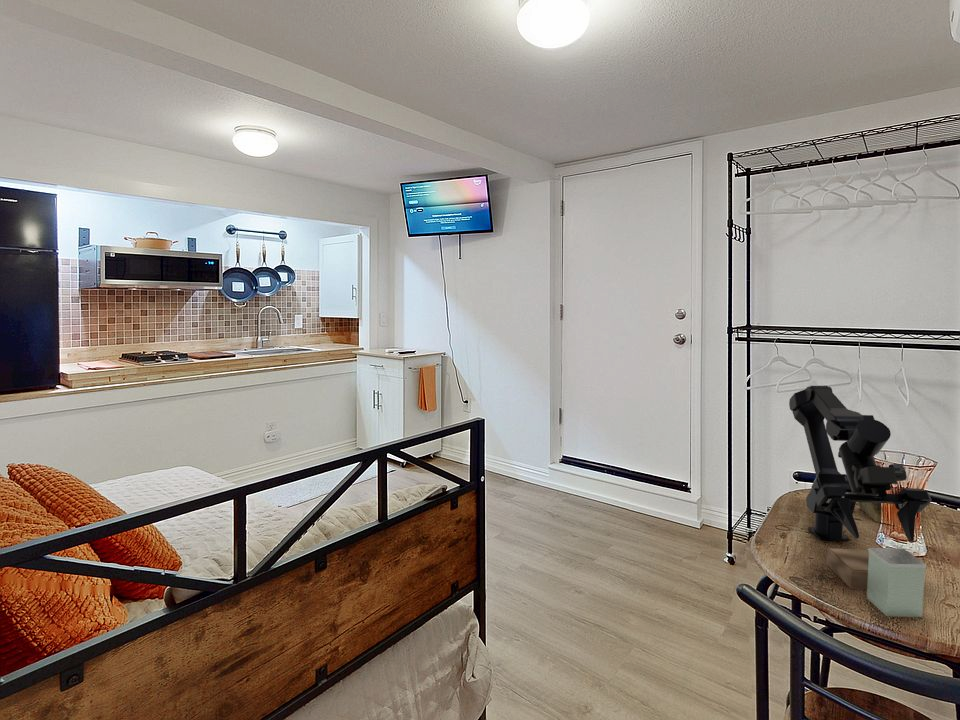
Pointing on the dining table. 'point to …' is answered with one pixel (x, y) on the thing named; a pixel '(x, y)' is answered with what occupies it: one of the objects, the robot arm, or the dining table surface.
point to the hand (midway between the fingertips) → (884, 539)
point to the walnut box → (850, 566)
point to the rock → (872, 510)
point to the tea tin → (896, 582)
